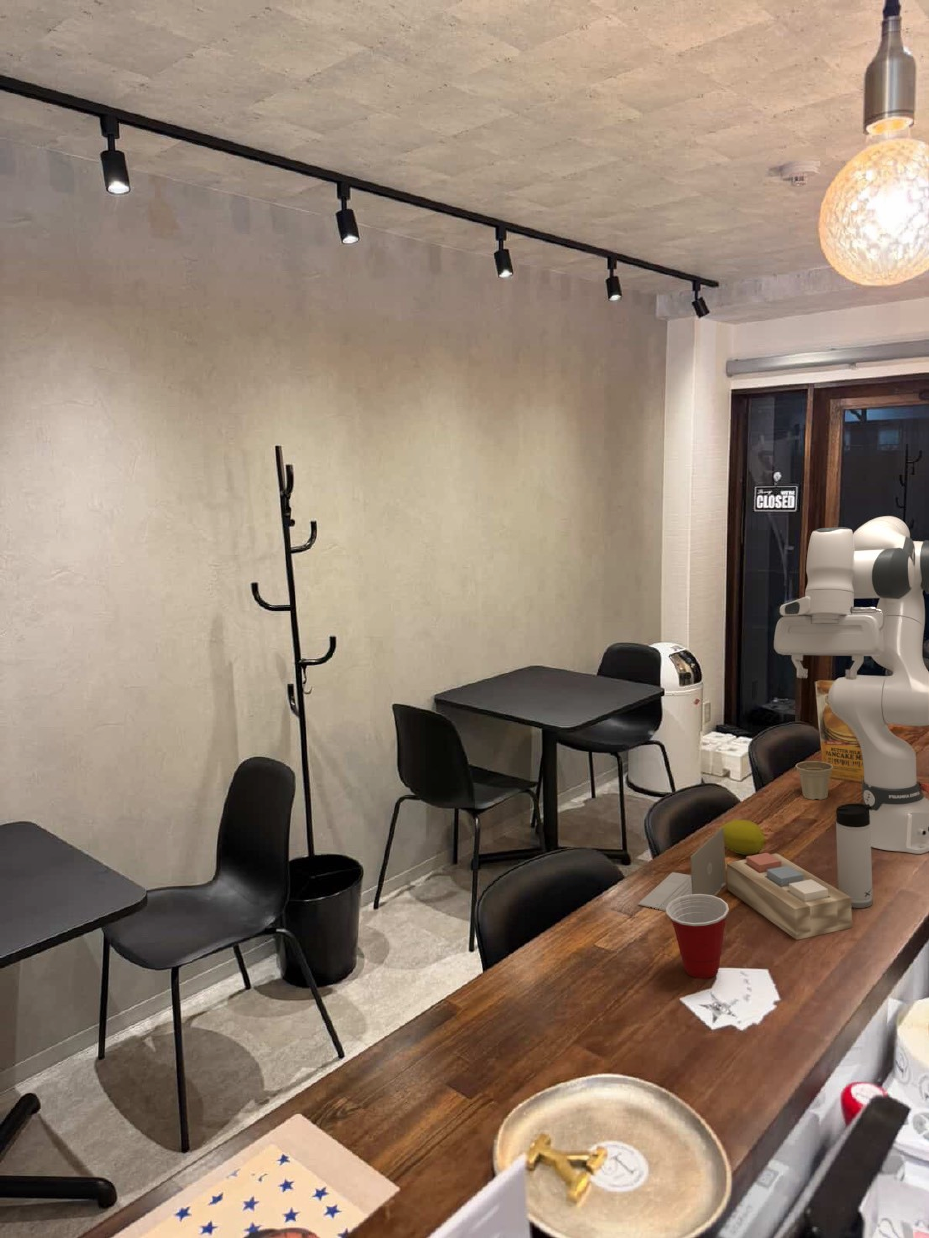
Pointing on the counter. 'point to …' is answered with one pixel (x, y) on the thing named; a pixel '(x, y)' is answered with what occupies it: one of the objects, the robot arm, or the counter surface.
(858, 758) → the pancake mix bag
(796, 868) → the key panel
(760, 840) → the lemon
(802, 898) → the white key
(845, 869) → the travel mug
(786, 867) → the slate key
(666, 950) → the counter surface
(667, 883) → the laptop
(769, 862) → the red key
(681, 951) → the plastic cup
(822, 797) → the flower pot
